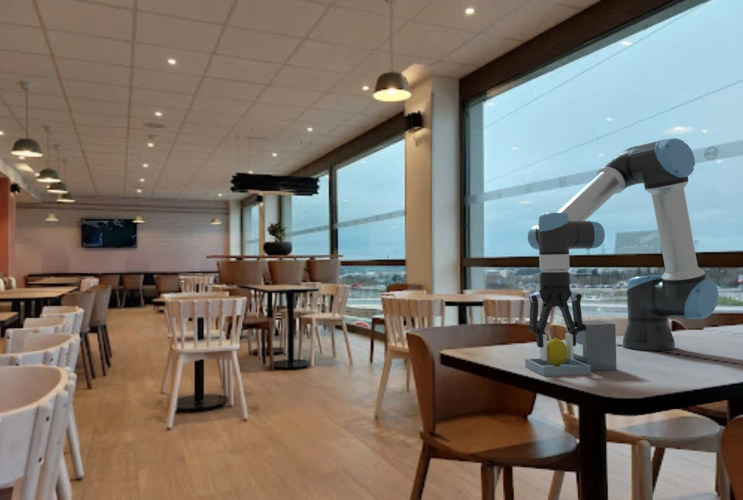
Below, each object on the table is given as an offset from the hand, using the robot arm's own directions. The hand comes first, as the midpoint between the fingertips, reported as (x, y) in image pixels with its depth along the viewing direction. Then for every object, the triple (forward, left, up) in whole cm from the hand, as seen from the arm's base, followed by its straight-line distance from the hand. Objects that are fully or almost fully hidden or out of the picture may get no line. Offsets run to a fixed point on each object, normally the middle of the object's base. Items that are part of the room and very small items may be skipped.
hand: (556, 359), depth 144 cm
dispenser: (-11, -2, -3) cm, 12 cm away
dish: (0, 0, -3) cm, 3 cm away
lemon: (0, 0, -3) cm, 3 cm away
